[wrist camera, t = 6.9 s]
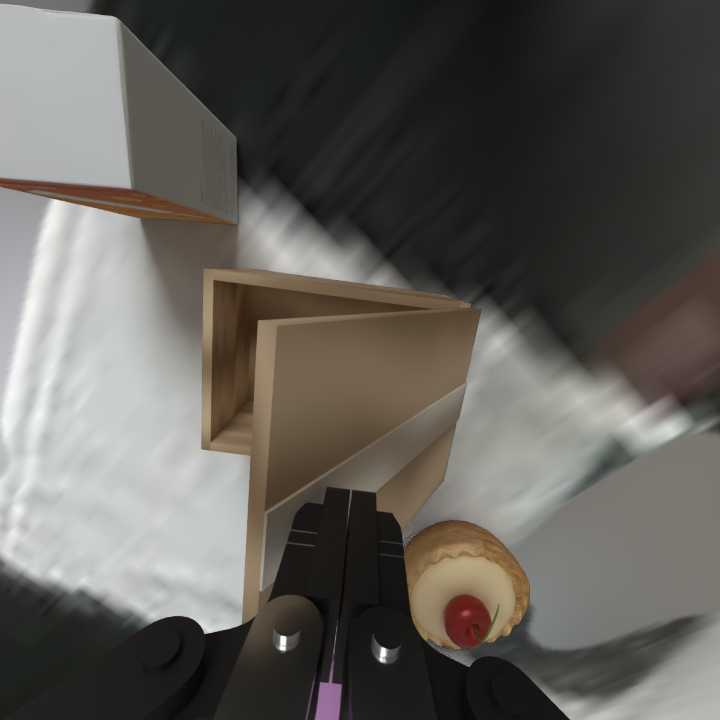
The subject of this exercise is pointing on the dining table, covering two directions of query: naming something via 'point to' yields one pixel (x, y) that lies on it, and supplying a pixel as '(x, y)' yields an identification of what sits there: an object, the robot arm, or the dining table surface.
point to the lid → (349, 419)
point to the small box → (107, 122)
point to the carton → (266, 302)
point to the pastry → (463, 585)
